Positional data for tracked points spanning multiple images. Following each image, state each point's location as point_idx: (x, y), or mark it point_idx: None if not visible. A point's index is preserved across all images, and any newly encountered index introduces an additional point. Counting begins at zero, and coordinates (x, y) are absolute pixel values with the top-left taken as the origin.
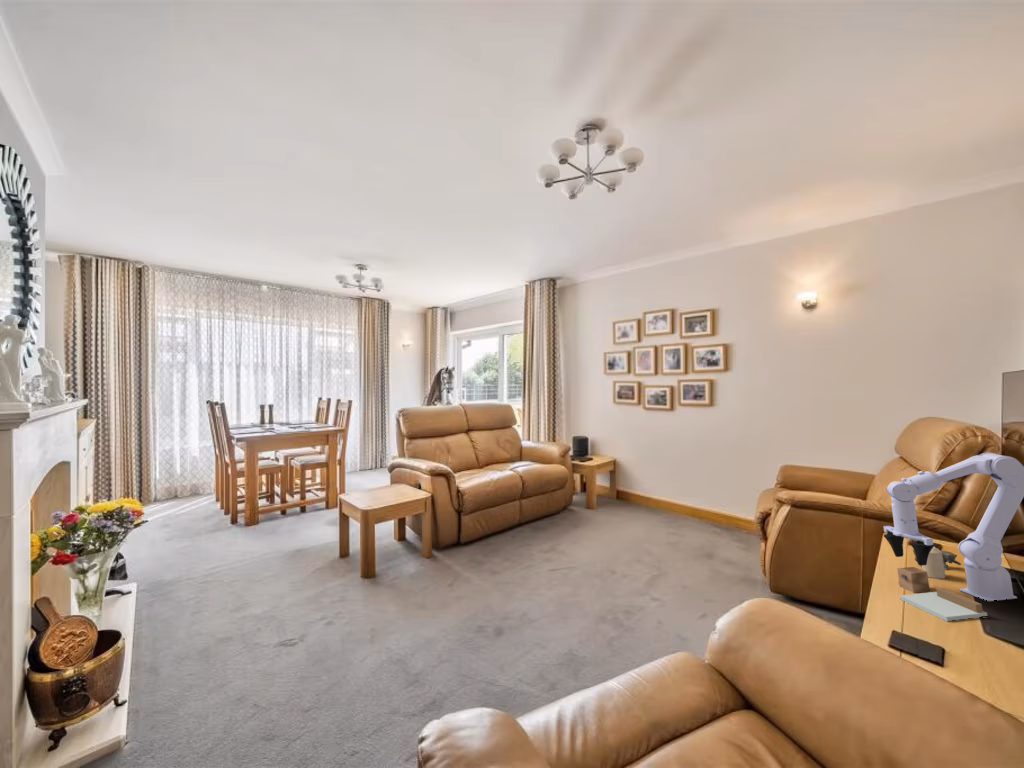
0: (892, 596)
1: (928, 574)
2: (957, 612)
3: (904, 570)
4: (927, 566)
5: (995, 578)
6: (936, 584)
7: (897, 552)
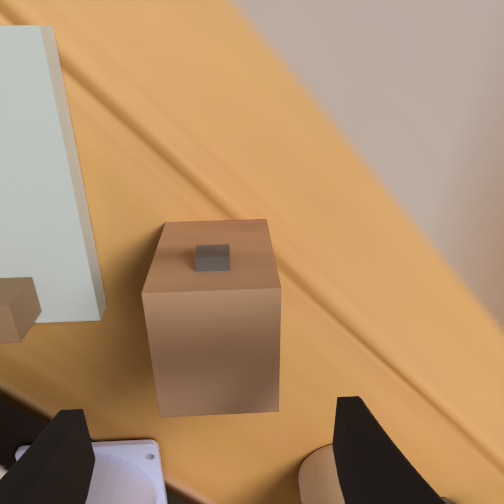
0: (115, 17)
1: None
2: None
3: (222, 303)
4: None
5: None
6: None
7: (352, 449)
